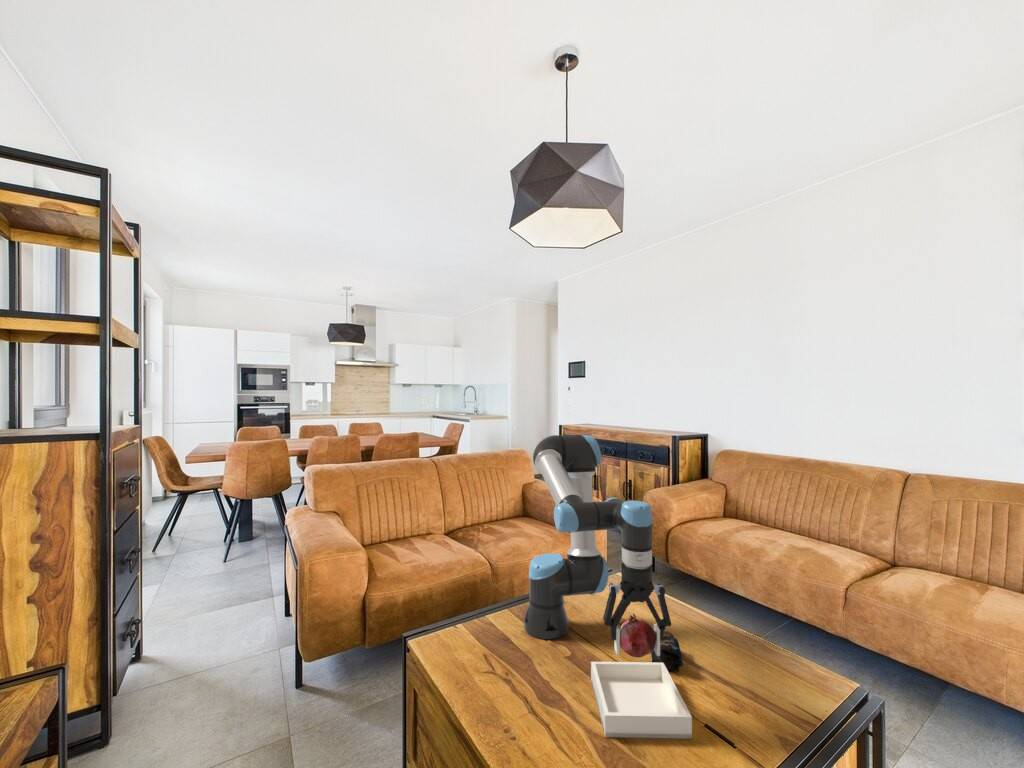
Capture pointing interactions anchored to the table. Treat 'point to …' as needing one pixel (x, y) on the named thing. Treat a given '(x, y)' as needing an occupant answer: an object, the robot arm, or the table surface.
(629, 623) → the fruit
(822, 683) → the table surface
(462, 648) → the table surface
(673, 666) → the figurine
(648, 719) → the dish
